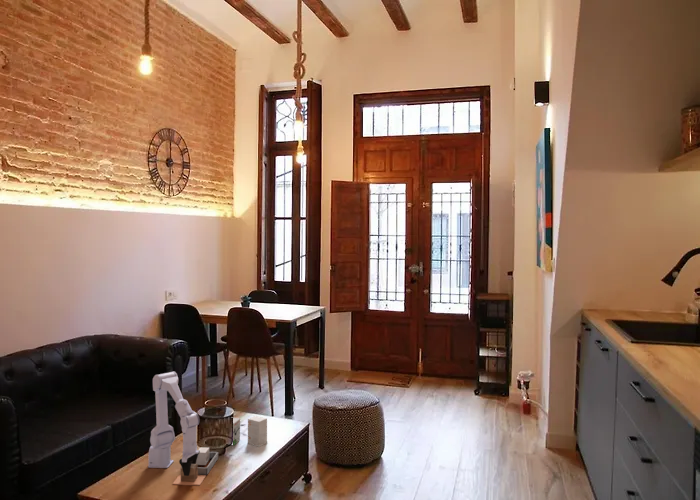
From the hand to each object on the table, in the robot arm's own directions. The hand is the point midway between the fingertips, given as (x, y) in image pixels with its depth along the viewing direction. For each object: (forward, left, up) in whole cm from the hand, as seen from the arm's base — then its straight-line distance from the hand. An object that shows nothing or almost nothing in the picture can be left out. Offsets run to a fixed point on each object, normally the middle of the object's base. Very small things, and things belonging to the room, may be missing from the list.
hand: (189, 471), depth 241 cm
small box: (+21, +44, -4) cm, 49 cm away
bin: (0, +15, -4) cm, 15 cm away
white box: (0, +19, -4) cm, 19 cm away
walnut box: (0, 0, -3) cm, 4 cm away
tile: (0, 0, -4) cm, 4 cm away
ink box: (+8, +44, -4) cm, 45 cm away
